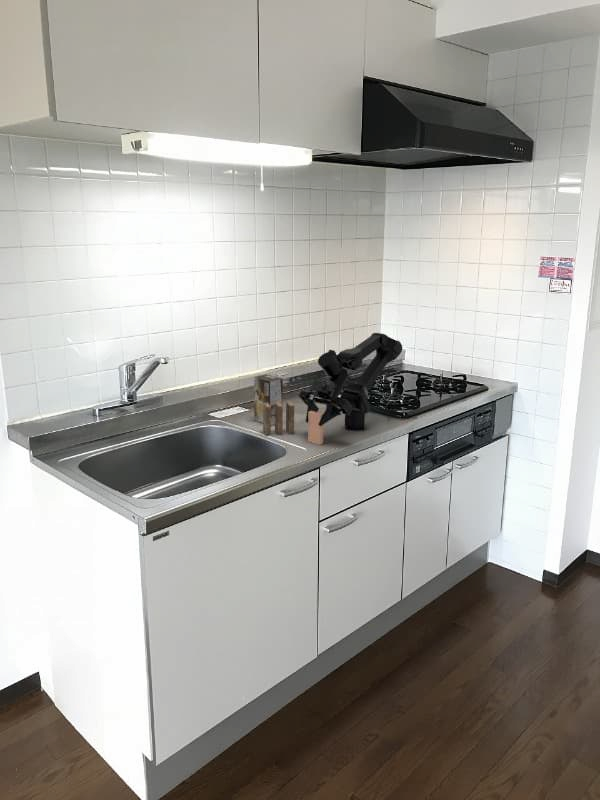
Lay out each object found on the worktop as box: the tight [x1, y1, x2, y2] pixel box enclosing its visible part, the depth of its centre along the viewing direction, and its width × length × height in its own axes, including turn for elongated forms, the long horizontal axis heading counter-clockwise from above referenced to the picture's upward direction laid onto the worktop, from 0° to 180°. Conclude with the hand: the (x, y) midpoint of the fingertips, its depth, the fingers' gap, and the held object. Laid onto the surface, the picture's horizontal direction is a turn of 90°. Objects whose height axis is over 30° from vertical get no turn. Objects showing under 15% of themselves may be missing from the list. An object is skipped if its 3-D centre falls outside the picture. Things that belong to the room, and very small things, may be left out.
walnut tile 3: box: [274, 402, 284, 436], centre depth 221 cm, size 2×5×10 cm, turn 14°
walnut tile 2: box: [285, 401, 295, 435], centre depth 222 cm, size 2×5×10 cm, turn 14°
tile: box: [307, 411, 324, 446], centre depth 212 cm, size 2×5×10 cm, turn 49°
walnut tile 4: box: [262, 403, 272, 437], centre depth 220 cm, size 2×5×10 cm, turn 14°
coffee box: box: [253, 374, 284, 426], centre depth 233 cm, size 9×6×16 cm
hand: (313, 423), depth 211 cm, fingers closed on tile, 5 cm apart
